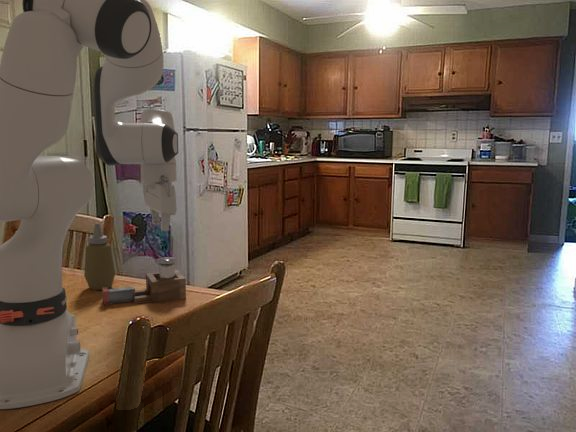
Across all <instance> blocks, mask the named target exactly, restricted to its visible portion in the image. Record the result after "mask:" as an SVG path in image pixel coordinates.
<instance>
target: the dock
mask: <svg viewBox="0 0 576 432" xmlns="http://www.w3.org/2000/svg"><path fill="white" fill-rule="evenodd" d="M186 280H187V279H186V277H185V276H184V275H183V274H182V273H181V272H180V270H178V269H175V278H170V279H161V280H159V271H154V272H146V273H145V289H138V290H135V297H134V301H133V302H134V303H133V304H143V303H152V304H155V303H164V302H170V301H176V300H185V299H187V287H186V286H187V285H186V284H187V283H186V282H187V281H186Z"/></svg>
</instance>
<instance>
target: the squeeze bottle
mask: <svg viewBox="0 0 576 432" xmlns="http://www.w3.org/2000/svg"><path fill="white" fill-rule="evenodd" d="M88 241H89V243H88V244H87V245H86V247H85V257H84V278H85V280H86V284H87V285H88V288H89V289H90V290H92V291H93V290H94V291H102V288H103V287H107V288H108V289H111V288H112V286H113V284H114V279H115V277H116V268H115V260H114V256H113V255H114V254H113V249H112V244H110V243H108V236H107V235H104V234H103V230H102V226H101V224H100V223H95V224H94V228H93V235H91V236H89V237H88Z"/></svg>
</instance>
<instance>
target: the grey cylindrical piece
mask: <svg viewBox="0 0 576 432" xmlns="http://www.w3.org/2000/svg"><path fill="white" fill-rule="evenodd" d="M156 263H157V264H158V272H159V280H161V279H170V278H175V270H176V269H175V267H176V266H175V264H176V263H177V258H176V257H171V256H168V257H167V256H166V257H160V258H157V260H156Z"/></svg>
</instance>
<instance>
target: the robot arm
mask: <svg viewBox="0 0 576 432" xmlns="http://www.w3.org/2000/svg"><path fill="white" fill-rule="evenodd" d="M22 10H23V12H21V13H19V14H17V16H15V17H14V18H13V20H12V21H11V24H10V26H9V27H10V28H9V30H8V33H7V36H6V39H5V42H4V45H3V49H2V54H1V60H0V223H5V222H6V223H7V222H13V221H14V222H15V221H20V224H19V226H18V228H17V230H16V232H15V233H14V234H13V236H12V237H11V238H9V239H7V240H6V241H5V242H4V243H2V244H0V410H9V409H17V408H25V407H30V406H31V407H32V406H36V405H41V404H45V403H49V402H54V401H57V400H61V399H63V398H66V397H70V396H72V395H73V394H75V393H78V392H79V391H80V390H81V387H82V383H83V380H84V376H85V372H86V369H87V365H88V362H89V357H90V353H89V352H90V351H89V350H87V349H85V348H81V341H78V339H77V336H79V328H78V327H77V324H76V322H77V321H76V316H75V315H74V314H72V313H70V312H69V311H68V309H67V307H68V306H67V301H68V300H67V294H66V289H65V288H64V287H63V263H62V262H63V247H64V243H65V239H66V236H67V233H68V231H69V228H70V227H71V225H72V223H73V221H74V219H75V218H76V217H77V215H78V214H79V213H80V211H81V210H82V209H83V208H85V207H86V206H87V205H88V203H90V200H91V199H92V196H93V193H94V179H93V176H92V172H91V171H90V169H89V168H88V166H87V165H86V164H85V163H84V162H83V161H82V160H80V159H77V158H72V157H67V156H59V155H41V154H42V153H44V151H46V150H47V149H48V148H50V147H52V146H54V145H56V144H57V143H59V142H60V141H61V140H62V139H63V138H64V136H65V135H66V133H67V131H68V127H69V122H70V116H71V109H72V103H73V100H74V94H75V87H76V81H77V71H78V69H77V68H78V56H79V55H80V54H81V51H82V50H83V49H84V47H85V48H86V47H87V48H89V49H91V50H94V51H96V52H97V51H98V52H100V53H102V54H103V55H104V58H105V59H104V61H105V62H104V64H103V65H102V66H100V67H98V68H96V71H95V75H94V79H93V110H94V111H93V112H94V124H95V125H94V128H95V135H94V136H95V137H94V150H95V153H96V156H97V158H98V159H100V160H101V162H103V163H105V164H106V165H107V166H121V165H140V172H139V179H140V181H141V182H142V193H143V199H144V203H145V206H147V207H148V208H150V213H151V220H152V222H151V223H152V224H153V225H154V226H159V225H160V230H161V231H162V232H169V231H170V222H171V219H172V218H171V217H172V216H175V215H176V214H177V198H176V197H177V196H176V188H175V185H174V184H173V183H174V182H177V160H176V156H177V155H178V154H179V134H178V132H177V131H176V129H175V124H174V118H173V114H172V113H171V112H170V111H168V110H165V109H159V108H149V109H146V110H143V111H142V112H141V114H140V122H121V121H117V119H116V118H115V117H116V112H115V111H116V110H115V107H116V105H115V104H116V103H117V102H119V101H122V100H124V99H127V98H131V97H135V96H139V95H142V94H144V93H147V92H148V91H150V90H151V89H152V88H153V87H155V86H156V85H157V84H158V83H159V81H160V79H161V77H163V74H164V64H165V63H164V52H163V51H164V49H163V44H162V39H161V33H160V31H159V26H158V24H157V23H158V22H157V21H156V17H155V14H154V12H153V9H152V7H151V5H150V3H149V2H148V0H22Z"/></svg>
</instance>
